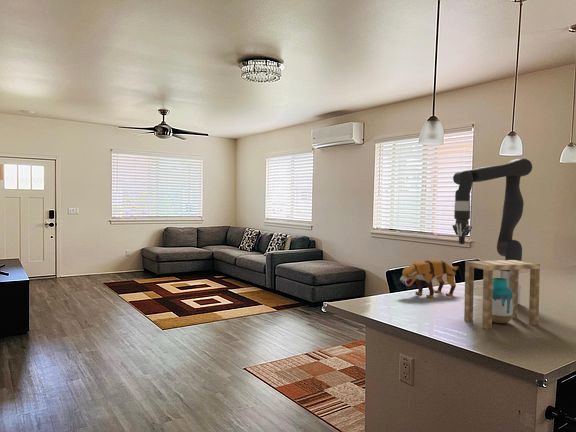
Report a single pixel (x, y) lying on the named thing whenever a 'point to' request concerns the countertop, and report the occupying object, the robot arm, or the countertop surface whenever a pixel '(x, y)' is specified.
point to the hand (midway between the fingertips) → (461, 243)
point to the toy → (429, 275)
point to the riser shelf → (513, 285)
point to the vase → (501, 301)
